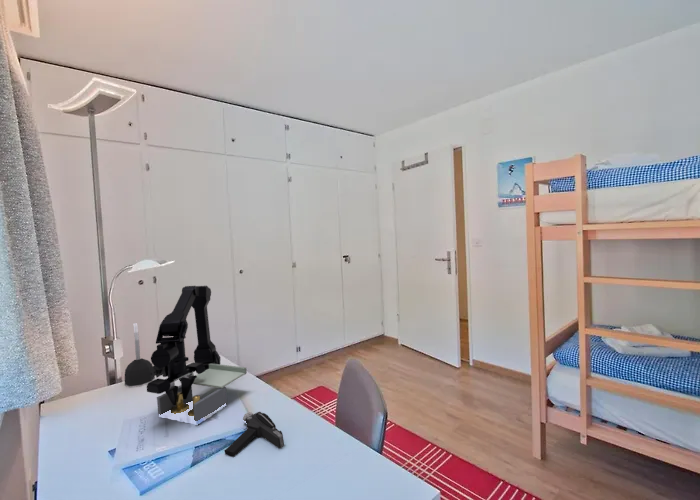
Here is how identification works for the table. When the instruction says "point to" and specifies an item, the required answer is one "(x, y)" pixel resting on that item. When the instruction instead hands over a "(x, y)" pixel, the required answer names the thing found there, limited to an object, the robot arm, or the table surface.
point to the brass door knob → (179, 404)
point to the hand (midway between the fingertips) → (179, 401)
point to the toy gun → (256, 433)
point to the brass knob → (195, 399)
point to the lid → (219, 375)
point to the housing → (200, 407)
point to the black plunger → (138, 367)
